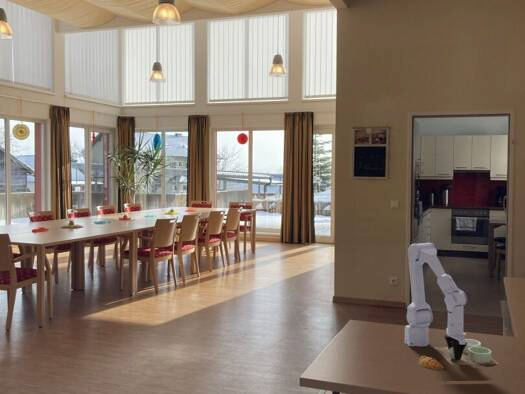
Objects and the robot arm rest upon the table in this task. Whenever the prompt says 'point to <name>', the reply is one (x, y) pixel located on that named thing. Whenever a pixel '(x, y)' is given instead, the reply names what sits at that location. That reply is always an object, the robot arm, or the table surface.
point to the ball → (451, 353)
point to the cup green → (479, 354)
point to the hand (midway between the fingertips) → (455, 356)
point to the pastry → (430, 363)
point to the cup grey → (471, 344)
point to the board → (464, 358)
